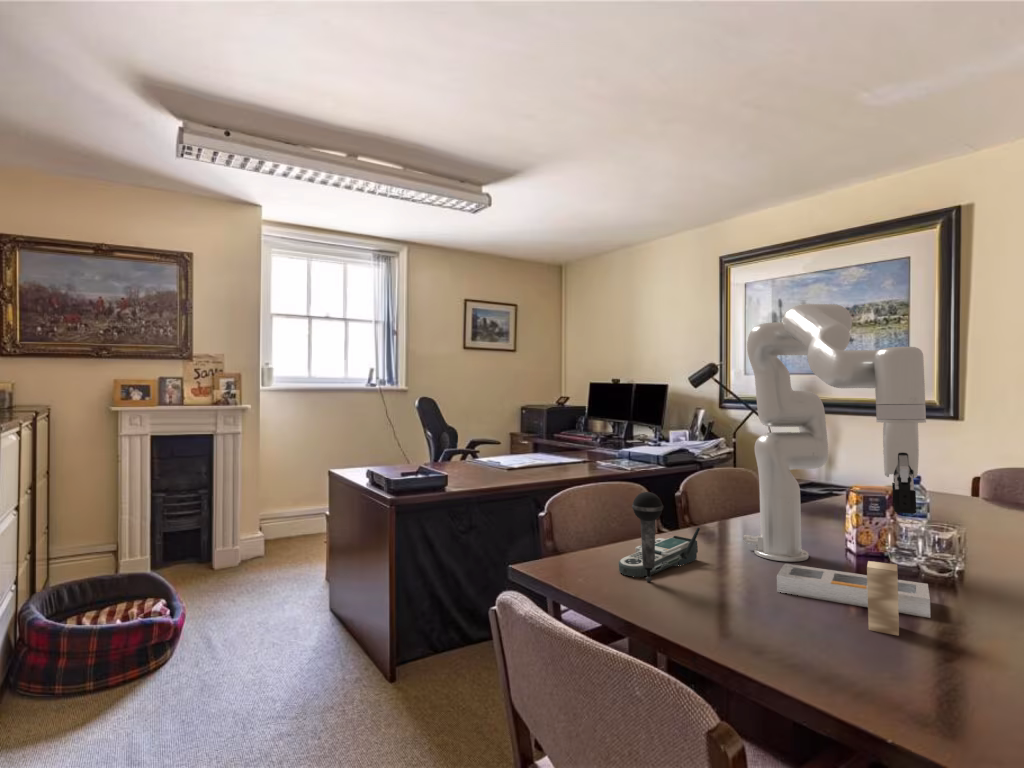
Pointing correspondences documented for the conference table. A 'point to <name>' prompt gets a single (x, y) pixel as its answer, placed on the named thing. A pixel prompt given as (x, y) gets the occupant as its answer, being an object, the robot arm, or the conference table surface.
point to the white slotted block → (848, 588)
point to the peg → (883, 597)
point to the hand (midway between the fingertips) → (904, 508)
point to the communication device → (662, 555)
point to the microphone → (648, 526)
